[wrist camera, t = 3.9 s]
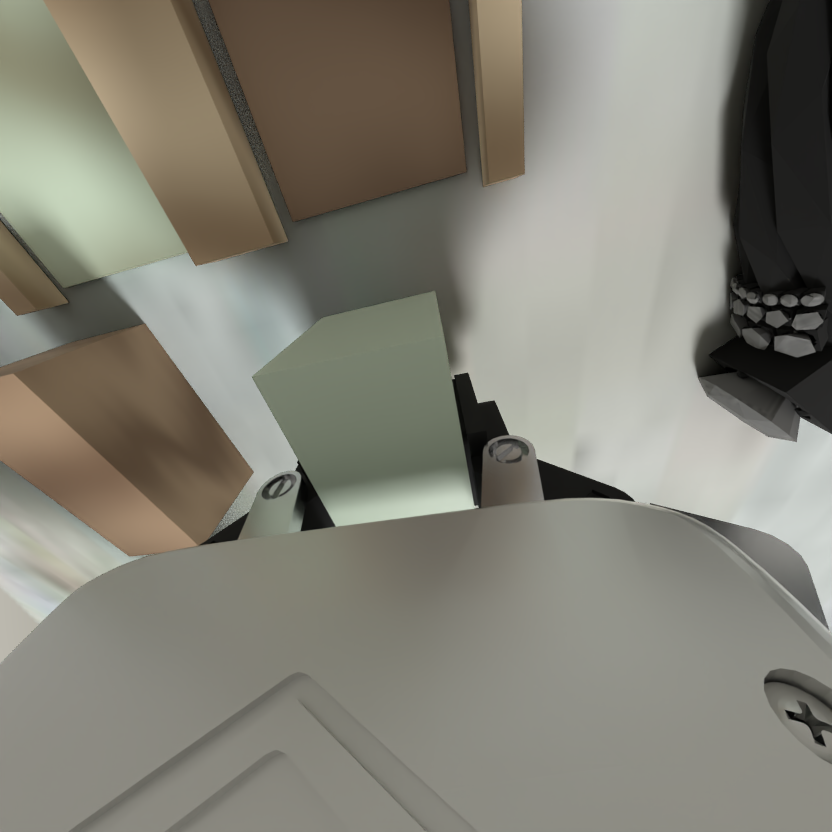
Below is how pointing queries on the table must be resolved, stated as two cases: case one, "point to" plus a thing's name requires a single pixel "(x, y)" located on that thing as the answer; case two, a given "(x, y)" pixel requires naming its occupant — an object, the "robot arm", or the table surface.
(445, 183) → the table surface
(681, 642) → the robot arm
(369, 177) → the oak rack
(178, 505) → the walnut bar
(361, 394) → the sage bar
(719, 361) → the cable lock
